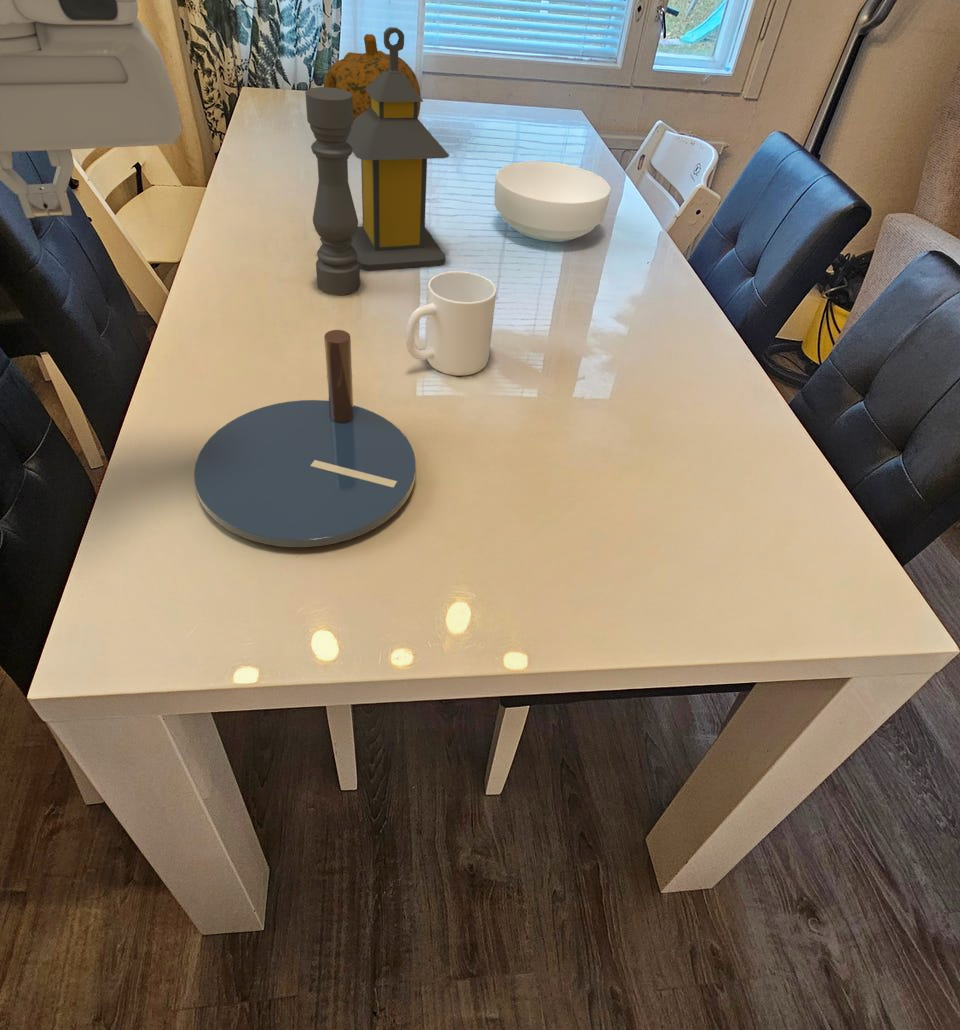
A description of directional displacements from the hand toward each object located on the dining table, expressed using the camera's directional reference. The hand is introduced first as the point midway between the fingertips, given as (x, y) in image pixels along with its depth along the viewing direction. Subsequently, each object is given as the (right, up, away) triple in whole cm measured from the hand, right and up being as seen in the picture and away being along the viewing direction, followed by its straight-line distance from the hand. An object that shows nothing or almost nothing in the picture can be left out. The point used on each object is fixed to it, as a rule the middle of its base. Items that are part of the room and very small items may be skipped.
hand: (49, 214), depth 51 cm
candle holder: (+10, +12, +53) cm, 55 cm away
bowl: (+43, +29, +75) cm, 91 cm away
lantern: (+17, +21, +64) cm, 69 cm away
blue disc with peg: (+13, -18, +23) cm, 32 cm away
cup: (+26, -2, +41) cm, 49 cm away
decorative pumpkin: (+8, +59, +101) cm, 117 cm away
